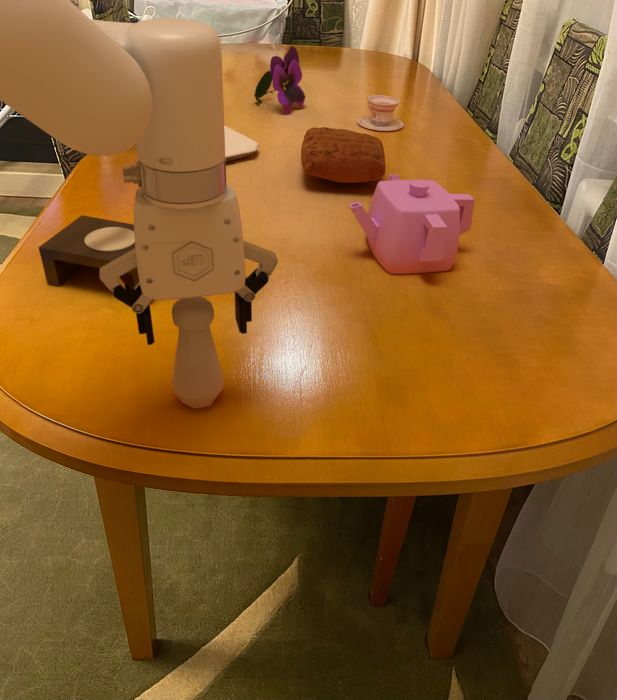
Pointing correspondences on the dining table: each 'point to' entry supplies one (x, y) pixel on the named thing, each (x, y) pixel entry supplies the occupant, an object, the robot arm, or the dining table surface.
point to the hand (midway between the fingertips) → (196, 331)
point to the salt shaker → (195, 354)
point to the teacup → (381, 114)
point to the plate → (238, 145)
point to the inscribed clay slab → (342, 155)
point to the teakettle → (414, 225)
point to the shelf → (86, 247)
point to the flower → (283, 81)
